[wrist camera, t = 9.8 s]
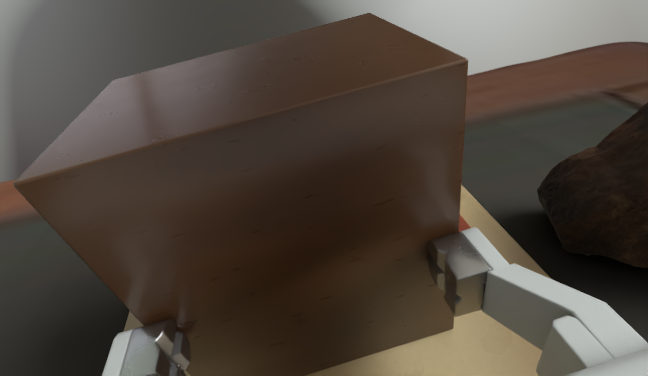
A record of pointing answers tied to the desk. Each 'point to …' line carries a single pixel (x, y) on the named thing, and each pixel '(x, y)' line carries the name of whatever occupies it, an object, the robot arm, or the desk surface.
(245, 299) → the tall rectangular block
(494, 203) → the desk surface
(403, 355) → the game board
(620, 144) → the decorative rock
